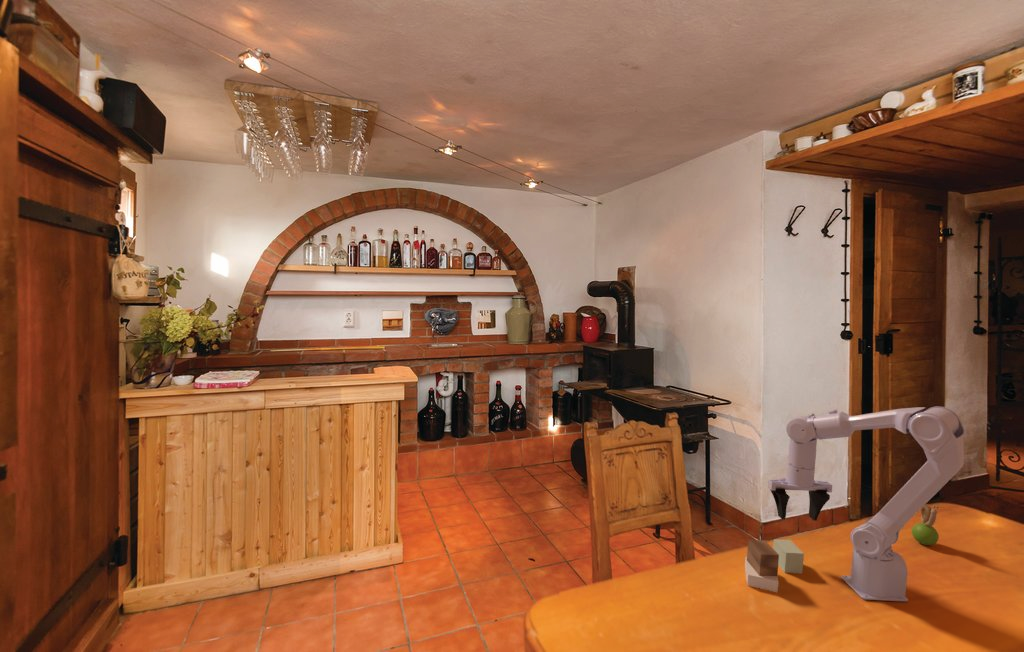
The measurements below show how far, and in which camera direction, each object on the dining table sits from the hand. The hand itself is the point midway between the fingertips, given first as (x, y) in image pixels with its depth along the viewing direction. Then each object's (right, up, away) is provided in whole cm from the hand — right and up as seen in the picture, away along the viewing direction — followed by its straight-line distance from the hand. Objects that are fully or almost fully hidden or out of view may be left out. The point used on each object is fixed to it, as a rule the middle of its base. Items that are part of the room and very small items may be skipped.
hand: (797, 518), depth 120 cm
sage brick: (-4, -10, -3) cm, 12 cm away
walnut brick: (-13, -8, -9) cm, 18 cm away
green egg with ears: (+38, -10, +8) cm, 40 cm away
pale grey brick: (-14, -11, -9) cm, 20 cm away
